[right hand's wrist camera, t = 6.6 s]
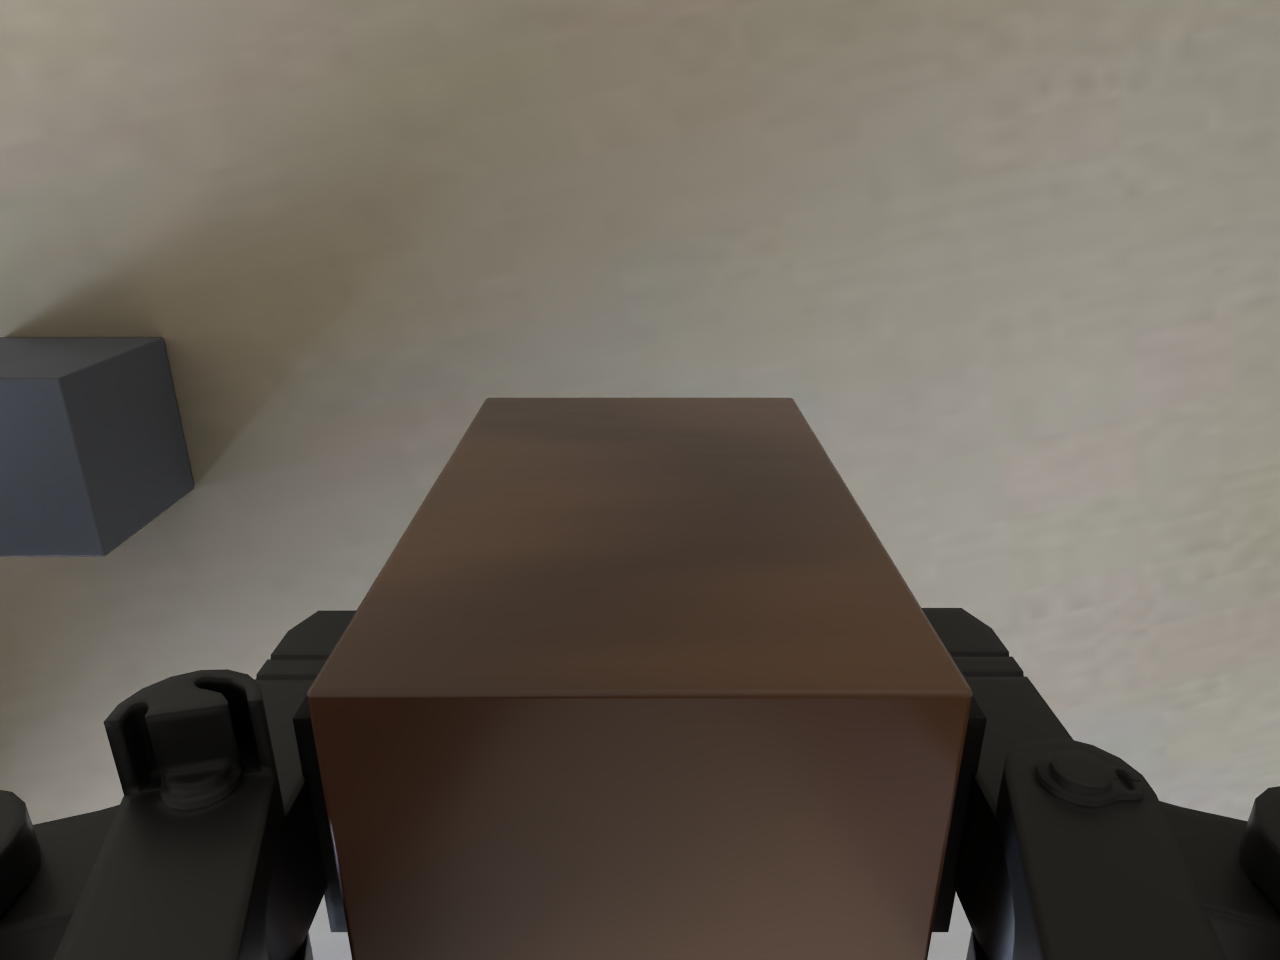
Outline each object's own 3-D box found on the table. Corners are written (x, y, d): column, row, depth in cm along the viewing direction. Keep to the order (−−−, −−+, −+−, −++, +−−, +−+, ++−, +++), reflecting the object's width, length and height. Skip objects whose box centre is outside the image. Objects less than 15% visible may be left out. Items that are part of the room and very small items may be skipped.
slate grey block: (164, 336, 26) (59, 377, 21) (195, 488, 28) (105, 557, 23) (0, 336, 26) (-141, 378, 21) (42, 488, 28) (-79, 557, 23)
